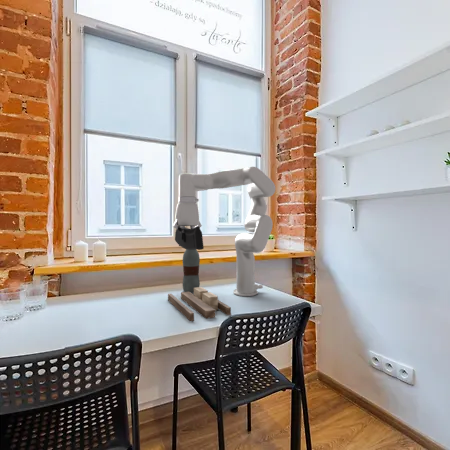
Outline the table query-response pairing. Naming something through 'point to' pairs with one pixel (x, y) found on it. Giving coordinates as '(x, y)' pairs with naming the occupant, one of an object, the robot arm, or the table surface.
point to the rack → (196, 306)
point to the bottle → (191, 270)
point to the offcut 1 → (199, 292)
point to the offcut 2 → (210, 300)
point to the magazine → (190, 238)
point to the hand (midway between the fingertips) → (187, 241)
